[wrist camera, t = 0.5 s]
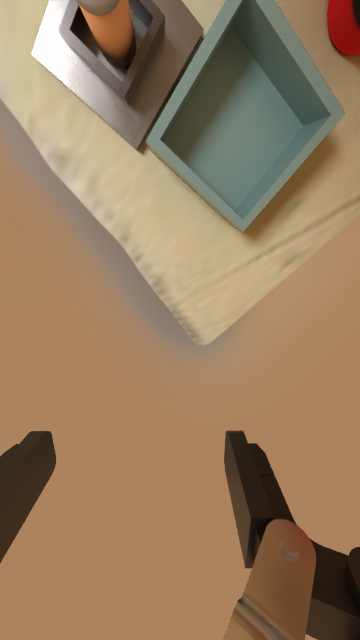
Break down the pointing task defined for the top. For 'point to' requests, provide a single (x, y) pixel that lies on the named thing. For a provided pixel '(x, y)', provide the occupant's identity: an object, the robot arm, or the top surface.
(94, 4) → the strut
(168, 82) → the socket block
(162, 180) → the top surface
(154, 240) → the top surface
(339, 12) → the soda can
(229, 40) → the bin
